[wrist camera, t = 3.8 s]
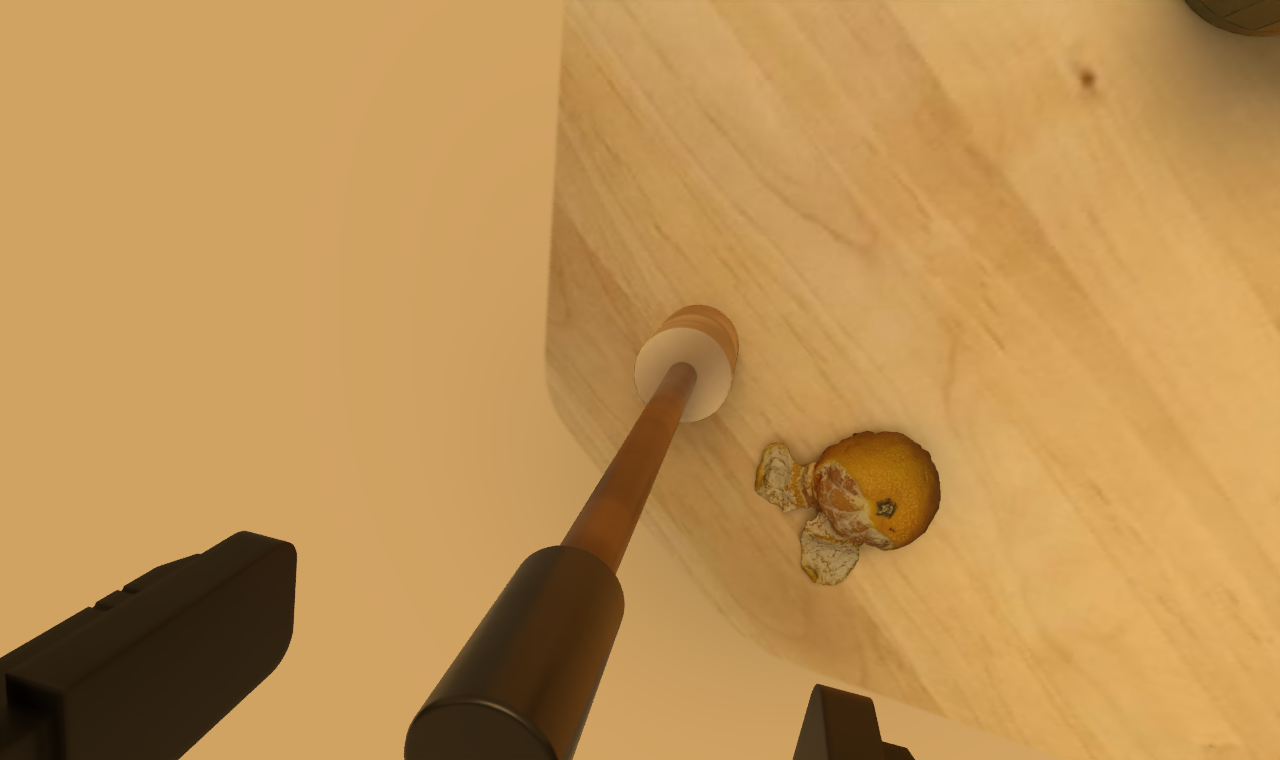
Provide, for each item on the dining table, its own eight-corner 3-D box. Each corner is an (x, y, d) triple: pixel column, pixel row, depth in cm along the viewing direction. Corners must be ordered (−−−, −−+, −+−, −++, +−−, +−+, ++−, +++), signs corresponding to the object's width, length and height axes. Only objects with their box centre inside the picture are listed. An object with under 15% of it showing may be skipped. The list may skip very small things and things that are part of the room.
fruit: (737, 458, 36) (734, 485, 33) (887, 381, 34) (901, 401, 30) (817, 589, 37) (822, 628, 34) (967, 522, 35) (990, 557, 31)
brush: (642, 347, 36) (269, 757, 9) (694, 288, 35) (444, 554, 8) (701, 399, 36) (508, 960, 9) (755, 341, 35) (716, 787, 8)
